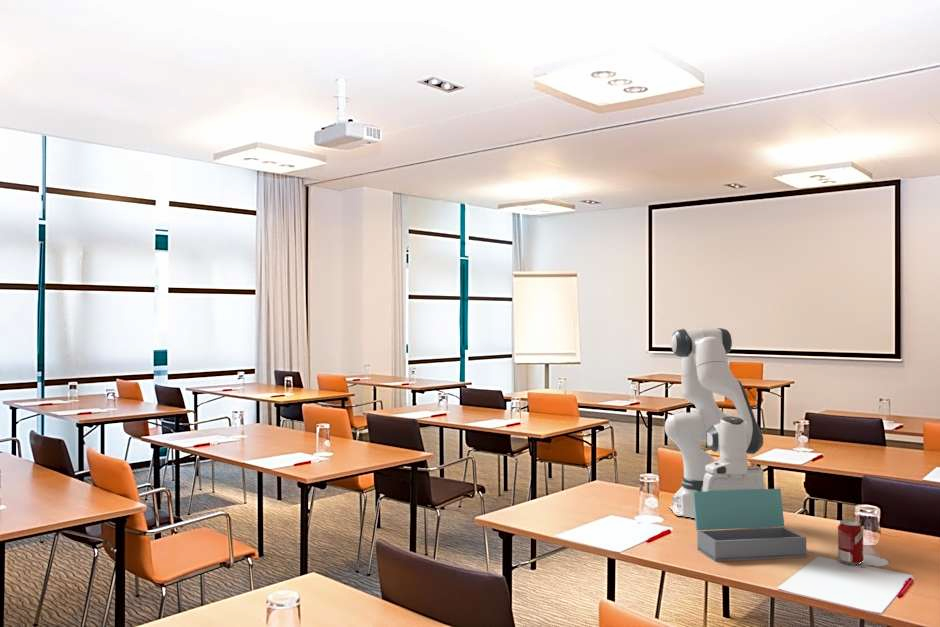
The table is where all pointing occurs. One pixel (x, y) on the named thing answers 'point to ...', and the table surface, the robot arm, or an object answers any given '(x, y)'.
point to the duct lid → (738, 509)
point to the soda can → (850, 542)
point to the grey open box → (751, 544)
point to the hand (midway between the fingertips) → (734, 509)
